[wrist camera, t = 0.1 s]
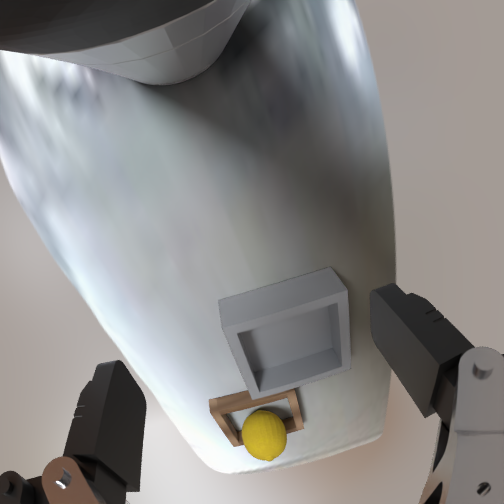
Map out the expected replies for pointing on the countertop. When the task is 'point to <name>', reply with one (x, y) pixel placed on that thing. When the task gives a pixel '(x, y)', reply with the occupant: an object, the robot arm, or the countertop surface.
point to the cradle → (244, 401)
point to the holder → (289, 332)
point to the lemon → (264, 435)
